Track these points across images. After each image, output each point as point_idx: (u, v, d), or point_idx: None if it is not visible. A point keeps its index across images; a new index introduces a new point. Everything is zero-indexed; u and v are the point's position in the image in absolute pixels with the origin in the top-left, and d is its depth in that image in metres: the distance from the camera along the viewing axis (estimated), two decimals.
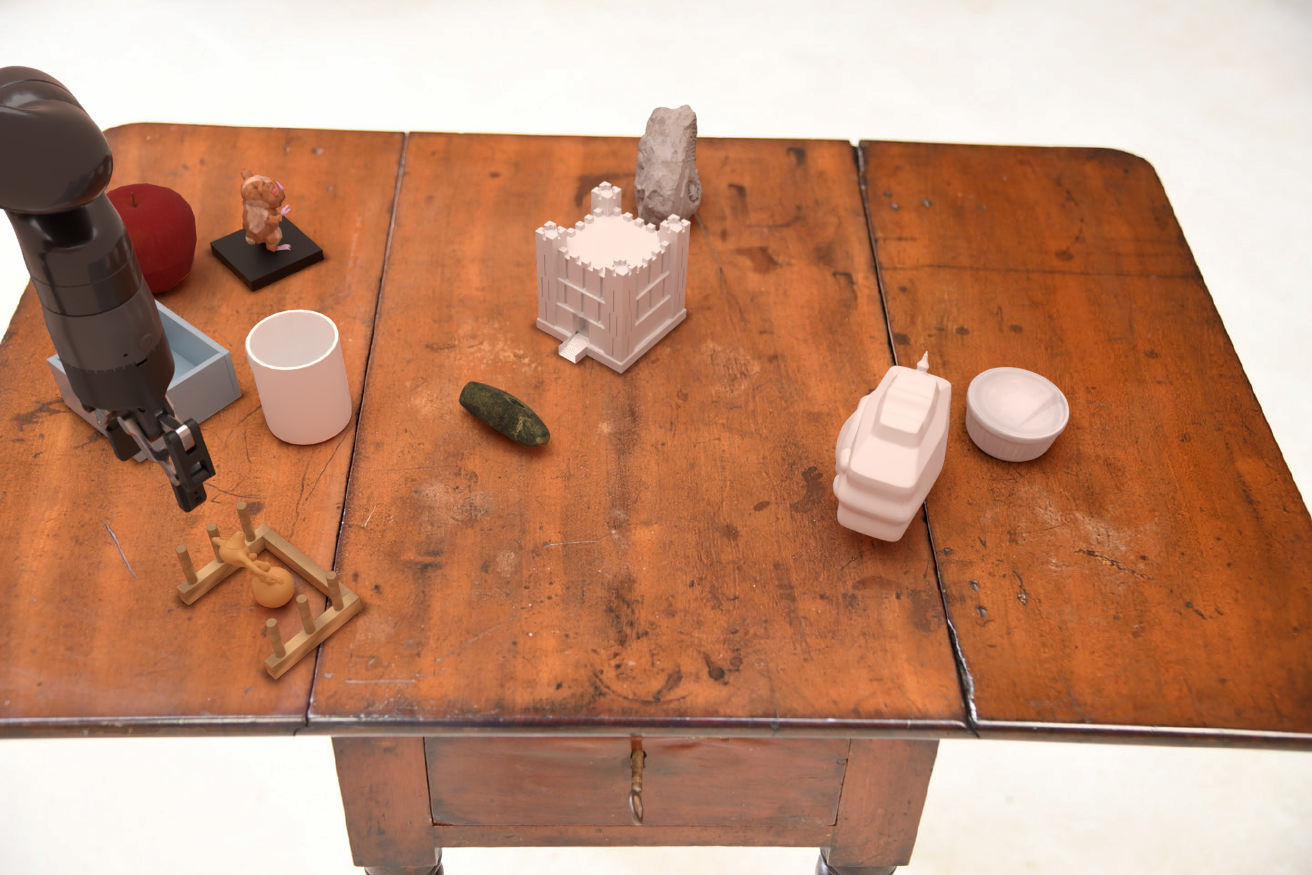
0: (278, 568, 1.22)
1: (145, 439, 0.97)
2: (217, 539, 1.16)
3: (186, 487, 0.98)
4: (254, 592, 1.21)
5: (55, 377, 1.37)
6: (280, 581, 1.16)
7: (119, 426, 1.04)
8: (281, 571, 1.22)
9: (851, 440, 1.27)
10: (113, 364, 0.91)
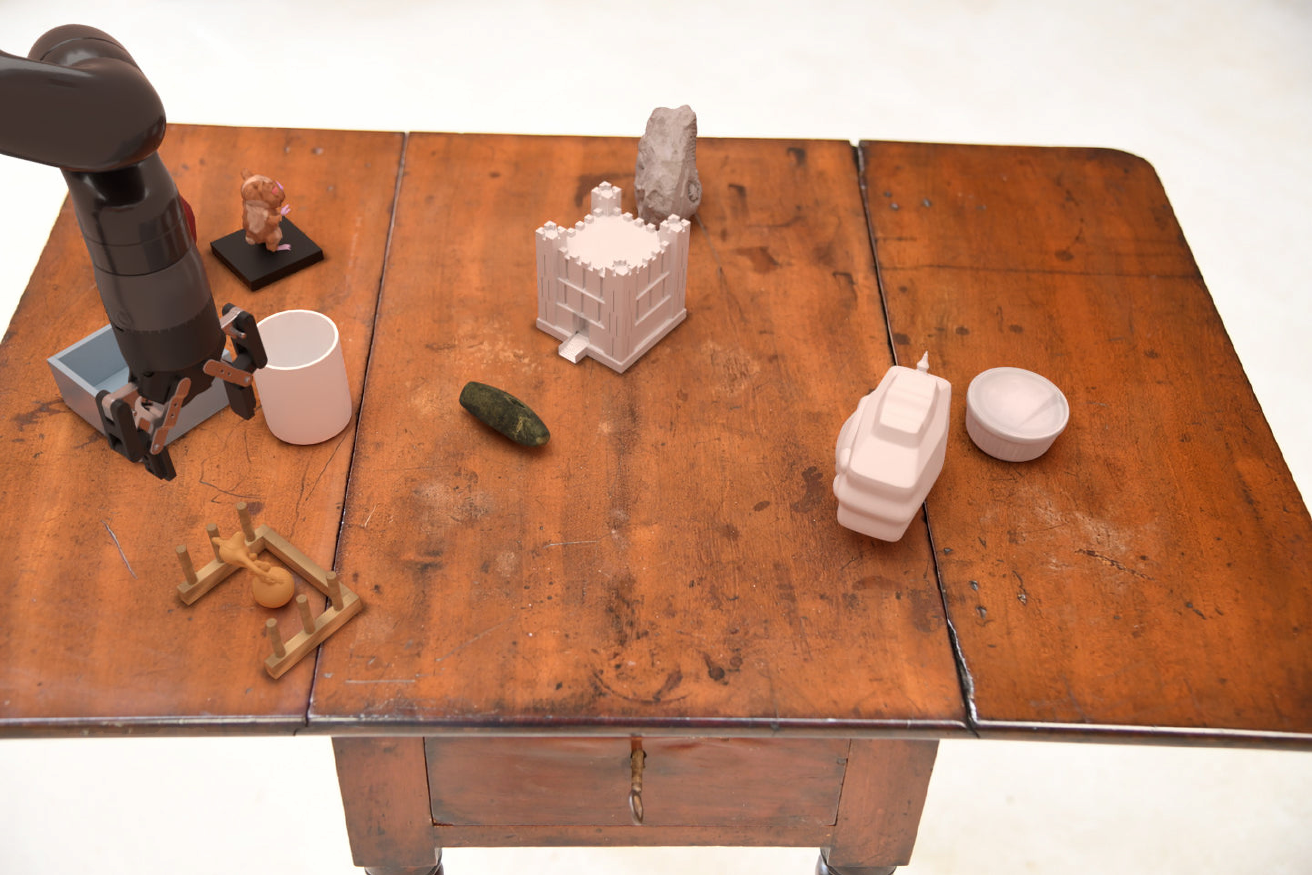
0: (278, 568, 1.22)
1: None
2: (217, 539, 1.16)
3: None
4: (254, 592, 1.21)
5: (55, 377, 1.37)
6: (280, 581, 1.16)
7: (231, 384, 1.05)
8: (281, 571, 1.22)
9: (851, 440, 1.27)
10: None
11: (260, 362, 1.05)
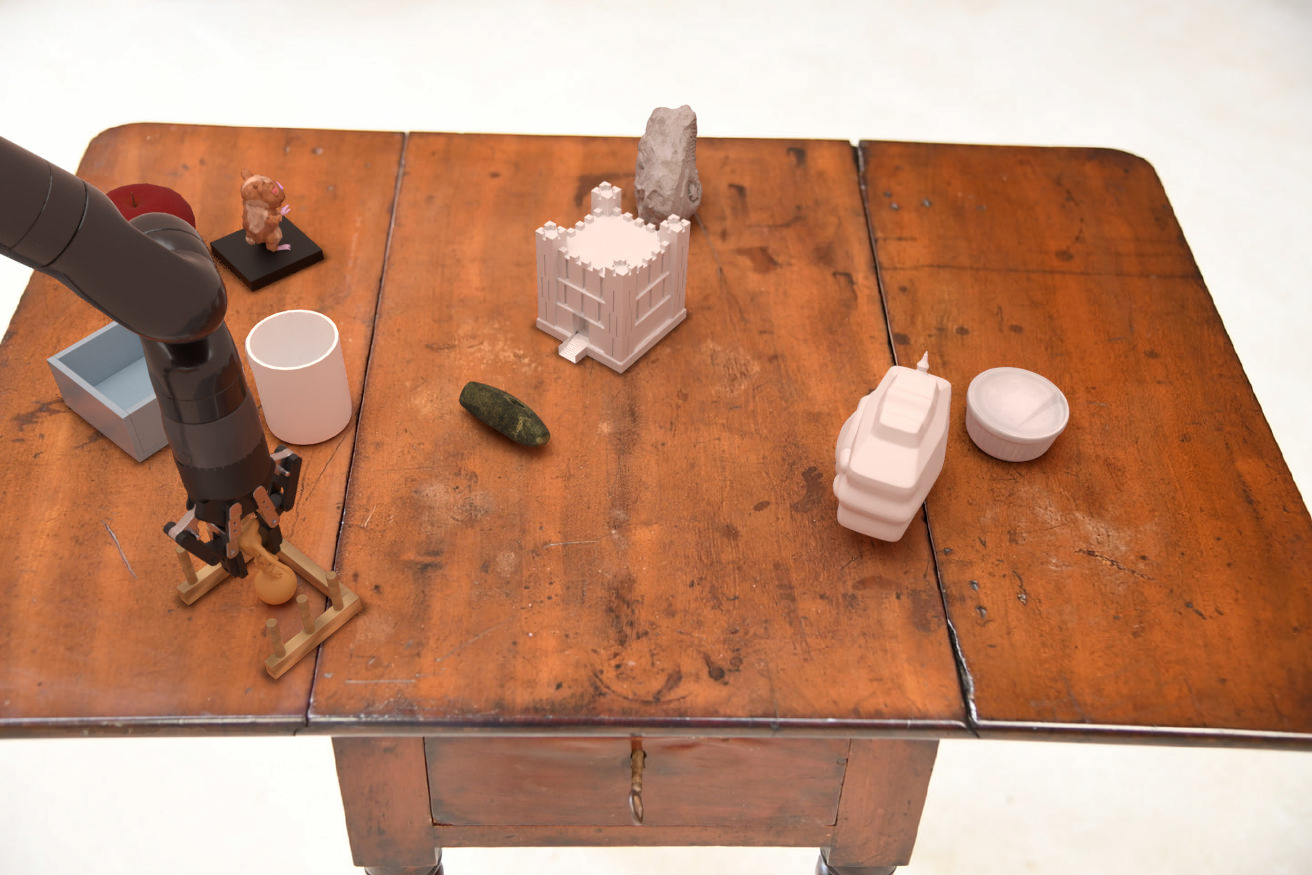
0: (282, 564, 1.22)
1: None
2: None
3: None
4: (257, 586, 1.21)
5: (55, 377, 1.37)
6: (289, 572, 1.16)
7: (260, 524, 1.16)
8: None
9: (851, 440, 1.27)
10: None
11: (287, 506, 1.16)
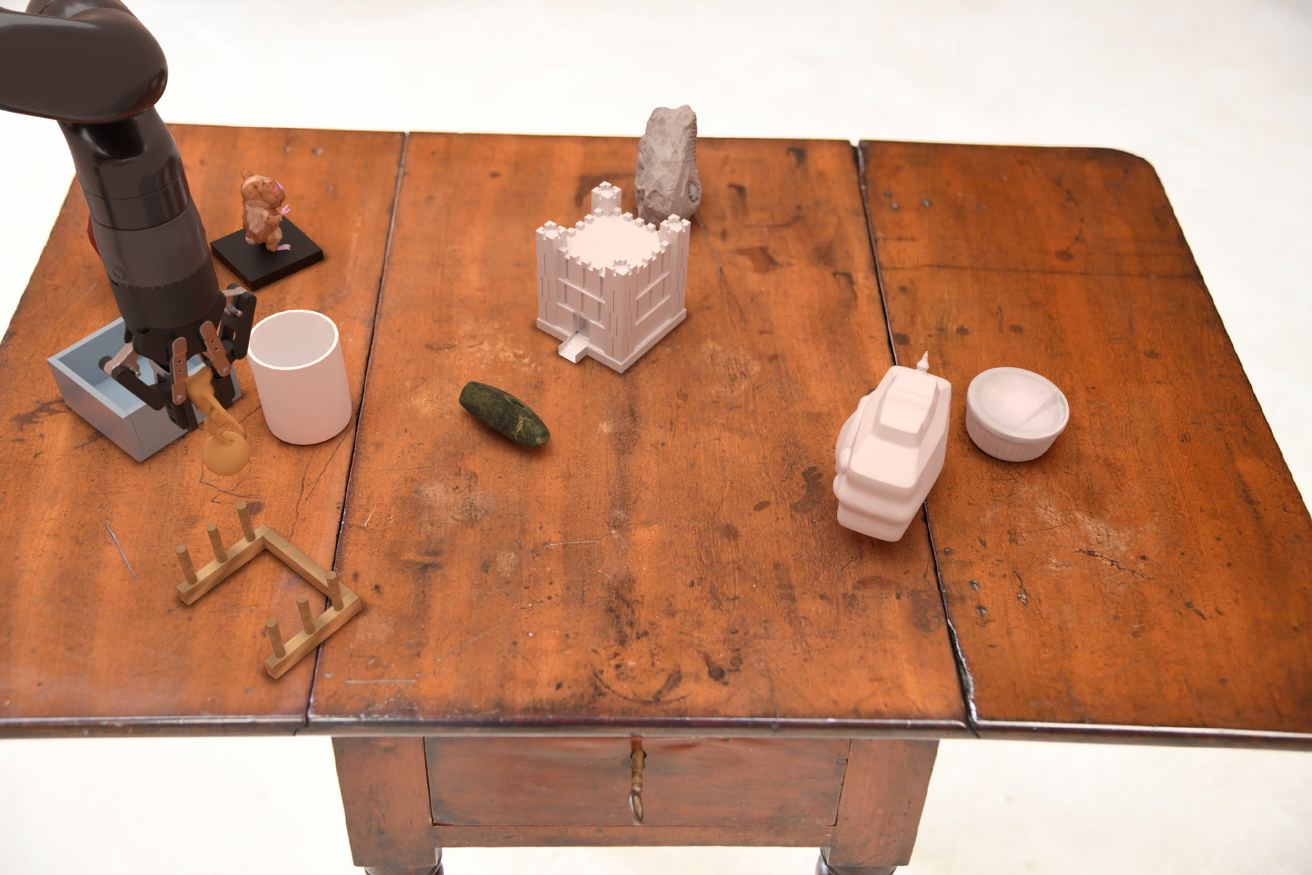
0: (235, 433, 1.11)
1: None
2: None
3: None
4: (205, 453, 1.10)
5: (55, 377, 1.37)
6: (242, 430, 1.05)
7: None
8: (238, 435, 1.11)
9: (851, 440, 1.27)
10: None
11: (239, 353, 1.05)
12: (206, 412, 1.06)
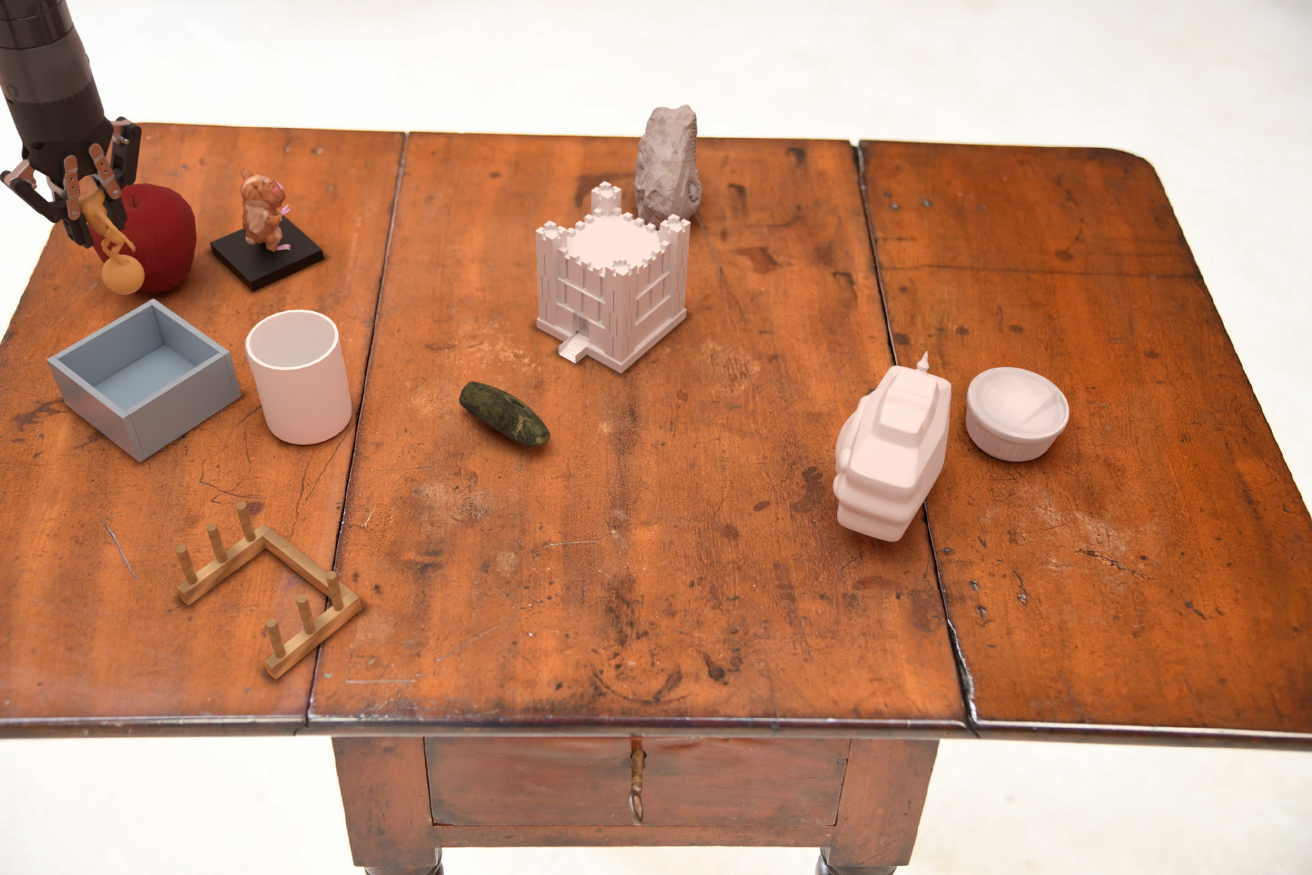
0: None
1: None
2: None
3: None
4: (103, 272, 1.26)
5: (55, 377, 1.37)
6: (132, 246, 1.21)
7: None
8: (133, 259, 1.27)
9: (851, 440, 1.27)
10: None
11: (128, 179, 1.21)
12: (101, 232, 1.22)
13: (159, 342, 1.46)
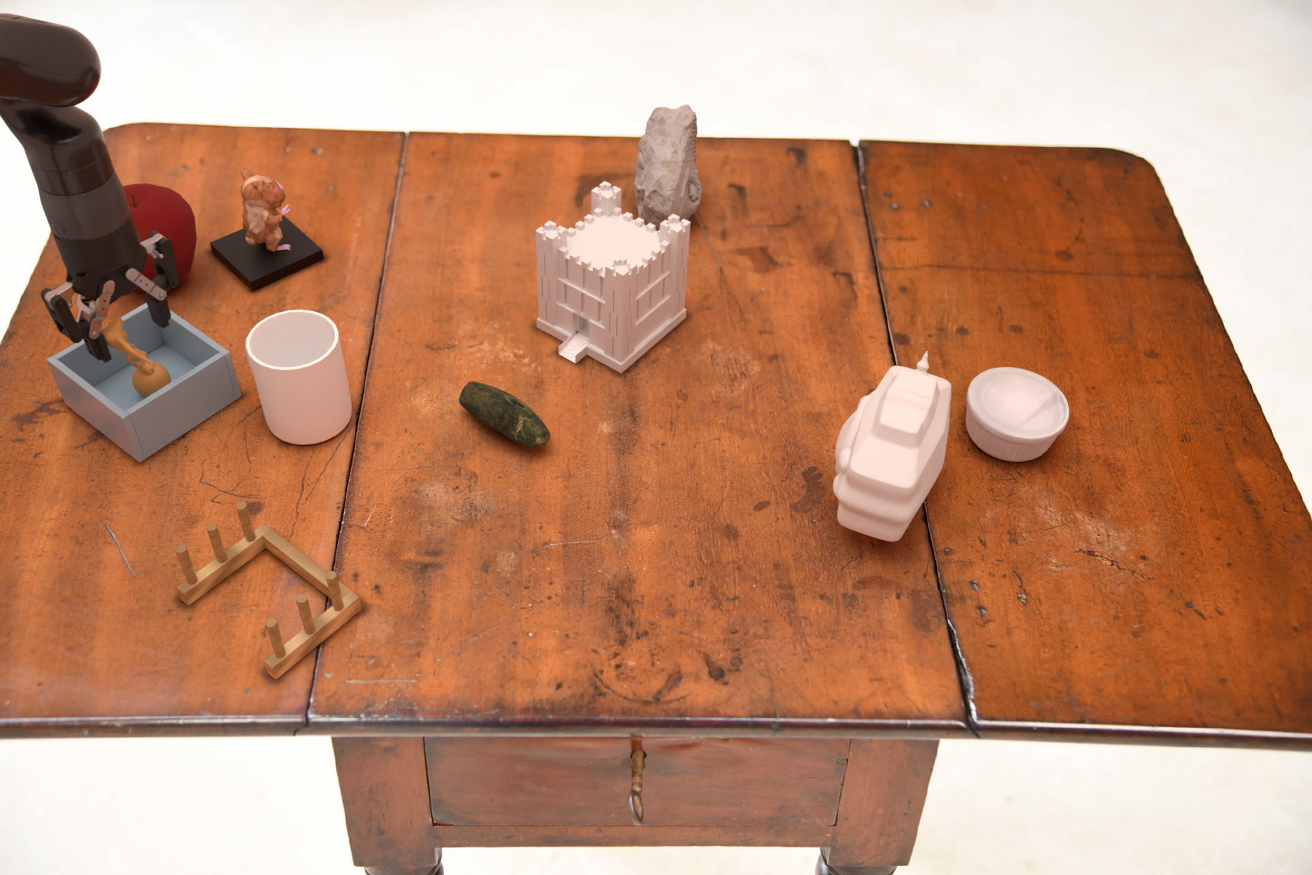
0: (156, 363, 1.40)
1: None
2: None
3: None
4: (133, 381, 1.39)
5: (55, 377, 1.37)
6: (153, 364, 1.34)
7: (150, 298, 1.35)
8: (158, 365, 1.39)
9: (851, 440, 1.27)
10: None
11: (172, 282, 1.34)
12: (124, 352, 1.34)
13: (159, 342, 1.46)
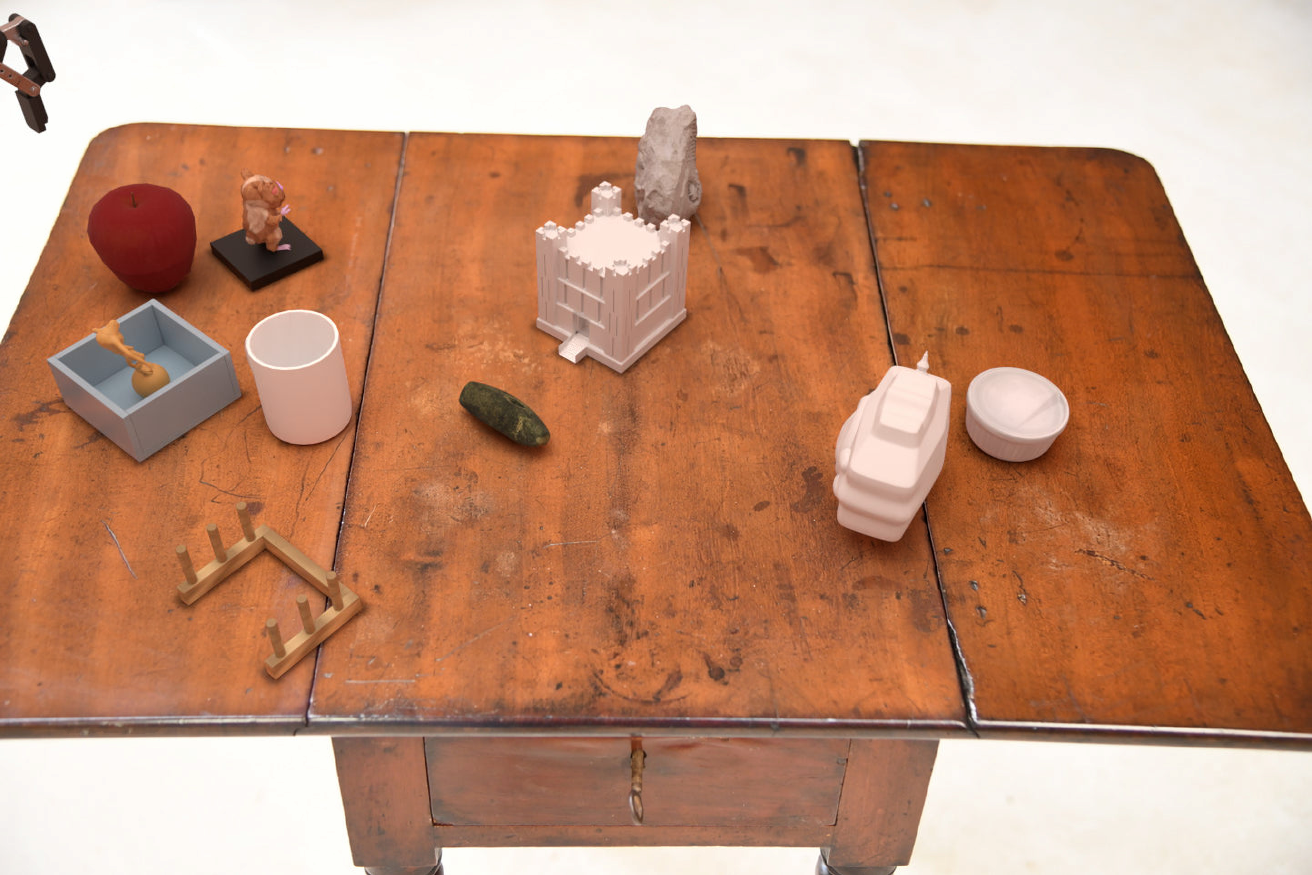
0: (155, 364, 1.40)
1: None
2: (96, 328, 1.33)
3: None
4: (133, 383, 1.39)
5: (55, 377, 1.37)
6: (150, 366, 1.34)
7: (21, 95, 1.15)
8: (157, 366, 1.39)
9: (851, 440, 1.27)
10: None
11: (47, 75, 1.15)
12: (122, 354, 1.34)
13: (159, 342, 1.46)
